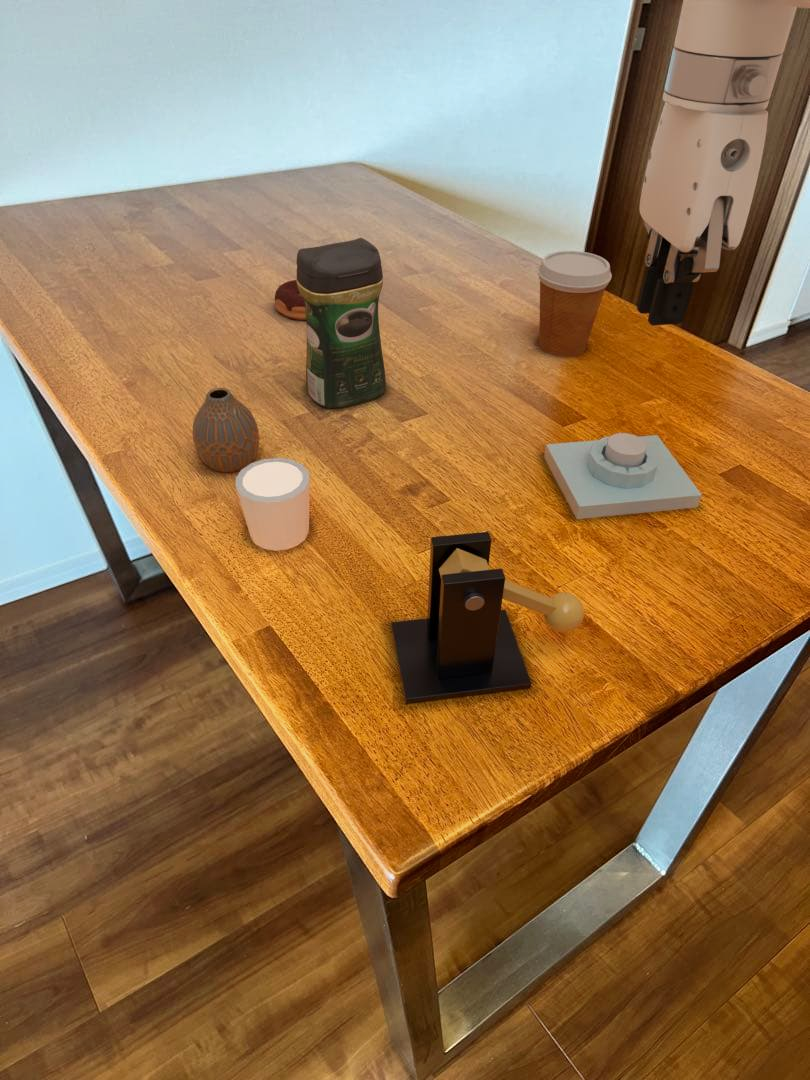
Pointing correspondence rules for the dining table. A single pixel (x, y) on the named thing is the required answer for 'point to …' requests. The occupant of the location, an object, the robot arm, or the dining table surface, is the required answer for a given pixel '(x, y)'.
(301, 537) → the pale pink cup
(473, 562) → the flush lever
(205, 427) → the vase
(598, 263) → the disposable coffee cup
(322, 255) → the coffee jar
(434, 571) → the lever bracket
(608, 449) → the round push button
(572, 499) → the square base plate
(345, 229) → the dining table surface
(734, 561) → the dining table surface
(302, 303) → the donut
